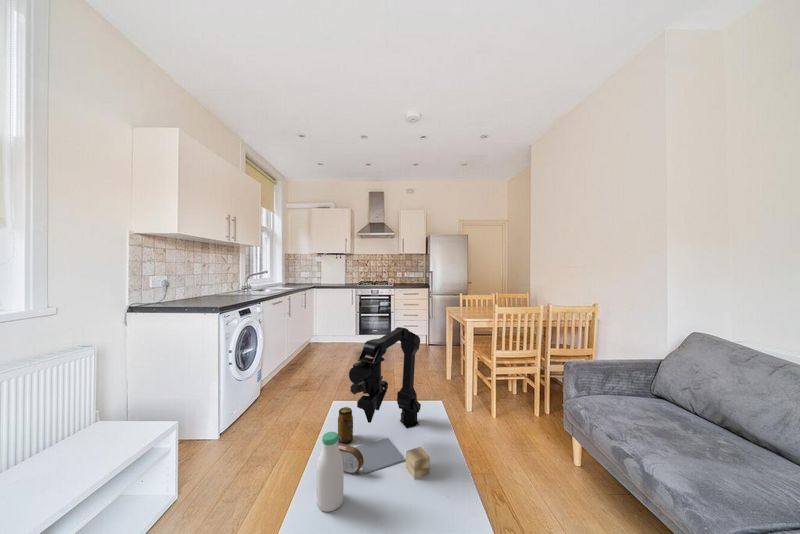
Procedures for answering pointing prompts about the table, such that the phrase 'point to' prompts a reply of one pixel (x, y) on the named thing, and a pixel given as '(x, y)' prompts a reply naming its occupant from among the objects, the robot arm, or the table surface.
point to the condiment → (346, 427)
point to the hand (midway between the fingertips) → (373, 416)
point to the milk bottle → (330, 474)
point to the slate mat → (379, 455)
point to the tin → (351, 458)
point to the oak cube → (417, 462)
